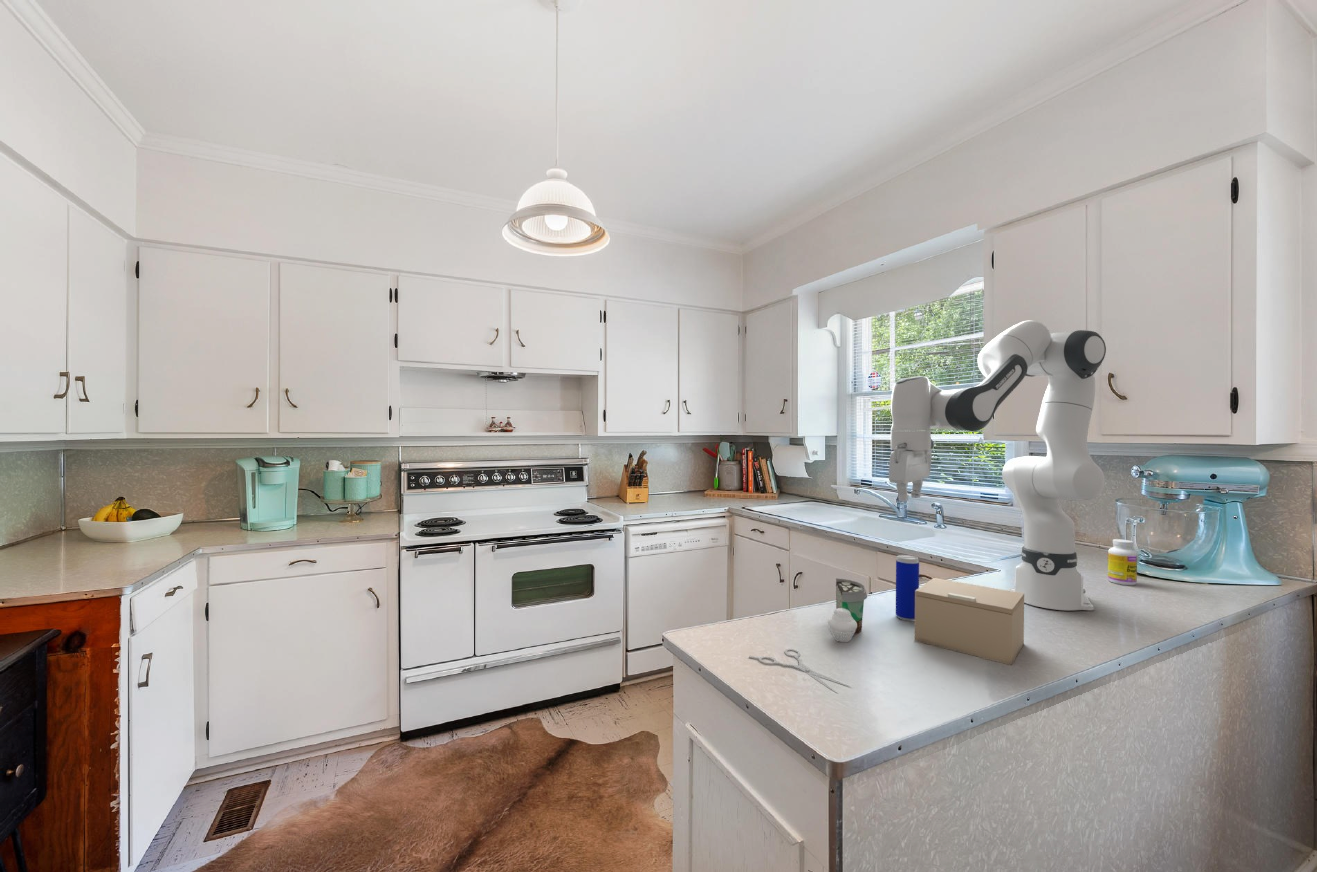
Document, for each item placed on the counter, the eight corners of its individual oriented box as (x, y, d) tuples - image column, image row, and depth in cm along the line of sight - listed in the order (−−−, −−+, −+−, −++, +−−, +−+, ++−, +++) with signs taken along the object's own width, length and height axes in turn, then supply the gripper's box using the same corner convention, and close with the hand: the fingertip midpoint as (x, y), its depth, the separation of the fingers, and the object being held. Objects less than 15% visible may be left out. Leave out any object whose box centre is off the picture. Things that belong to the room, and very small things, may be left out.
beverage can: (918, 615, 134) (918, 555, 134) (919, 622, 129) (919, 560, 129) (895, 613, 136) (896, 553, 136) (895, 619, 131) (895, 558, 131)
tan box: (933, 623, 129) (933, 582, 128) (1023, 644, 116) (1024, 598, 116) (914, 640, 118) (914, 595, 118) (1011, 665, 106) (1012, 614, 106)
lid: (933, 581, 128) (933, 575, 128) (1024, 597, 116) (1024, 590, 116) (914, 595, 118) (915, 587, 118) (1012, 614, 106) (1012, 606, 106)
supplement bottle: (1128, 587, 159) (1128, 543, 159) (1102, 581, 165) (1103, 539, 165) (1142, 584, 161) (1142, 541, 161) (1116, 578, 168) (1117, 537, 167)
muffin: (823, 640, 119) (823, 608, 118) (833, 631, 123) (834, 601, 123) (851, 647, 115) (851, 614, 114) (861, 638, 119) (861, 607, 119)
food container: (871, 639, 119) (871, 594, 119) (842, 637, 120) (842, 592, 120) (862, 620, 131) (862, 579, 131) (835, 618, 132) (835, 577, 132)
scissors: (786, 645, 115) (866, 681, 98) (786, 648, 115) (866, 686, 98) (748, 656, 109) (826, 697, 92) (748, 659, 109) (826, 701, 92)
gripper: (910, 443, 122) (909, 505, 122) (936, 442, 137) (935, 496, 137) (881, 443, 126) (881, 502, 126) (909, 442, 141) (909, 494, 141)
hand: (909, 499), depth 132 cm, fingers open, 8 cm apart
